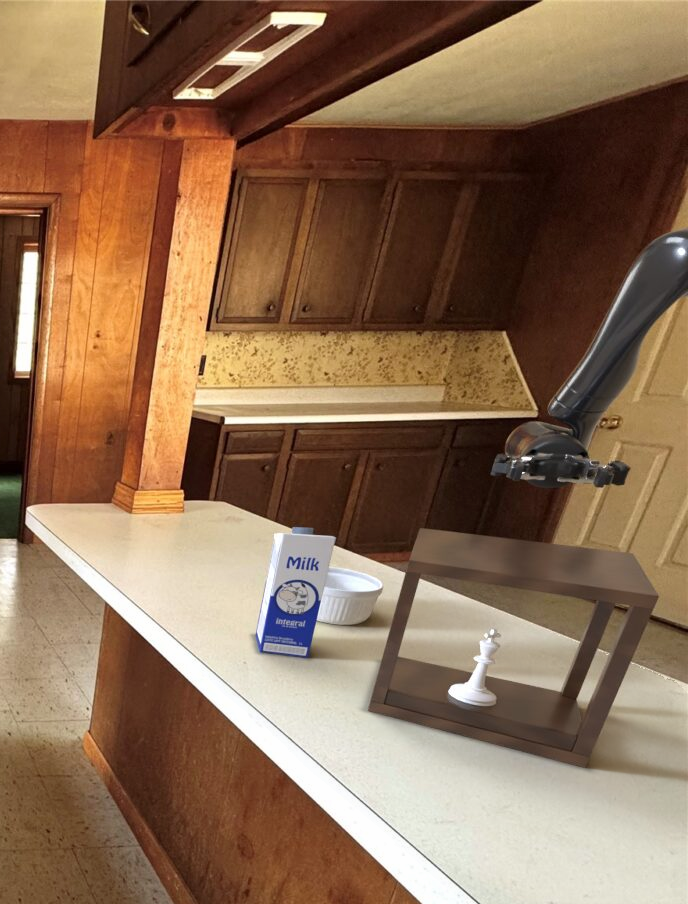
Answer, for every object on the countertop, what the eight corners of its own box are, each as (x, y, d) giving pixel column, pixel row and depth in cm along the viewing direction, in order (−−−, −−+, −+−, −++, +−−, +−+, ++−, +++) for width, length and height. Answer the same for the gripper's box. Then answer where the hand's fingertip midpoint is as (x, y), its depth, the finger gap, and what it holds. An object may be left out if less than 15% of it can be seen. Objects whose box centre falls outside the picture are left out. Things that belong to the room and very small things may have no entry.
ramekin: (393, 622, 116) (403, 585, 113) (334, 633, 112) (343, 595, 110) (326, 596, 127) (334, 562, 125) (271, 605, 124) (278, 571, 121)
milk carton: (258, 652, 106) (282, 532, 99) (254, 635, 112) (276, 521, 105) (309, 658, 104) (337, 536, 97) (301, 640, 110) (327, 524, 102)
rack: (571, 704, 89) (633, 553, 81) (585, 768, 77) (659, 596, 69) (382, 662, 102) (420, 527, 94) (367, 710, 89) (409, 560, 81)
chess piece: (505, 706, 87) (531, 637, 83) (467, 706, 87) (491, 637, 83) (475, 687, 91) (498, 621, 88) (439, 688, 91) (460, 622, 88)
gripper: (499, 432, 107) (500, 446, 96) (626, 438, 98) (644, 454, 87) (485, 478, 110) (485, 497, 98) (607, 488, 101) (622, 509, 90)
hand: (559, 477), depth 93 cm, fingers open, 8 cm apart
